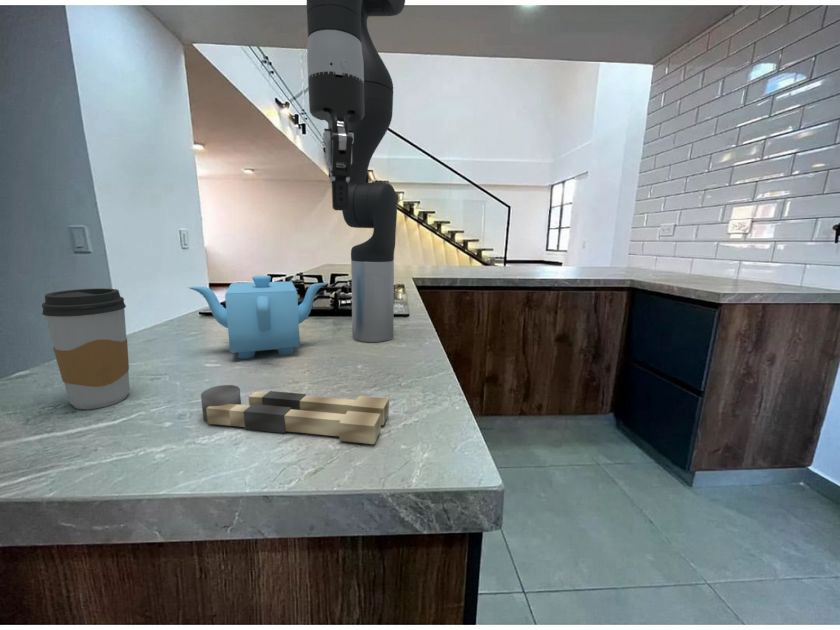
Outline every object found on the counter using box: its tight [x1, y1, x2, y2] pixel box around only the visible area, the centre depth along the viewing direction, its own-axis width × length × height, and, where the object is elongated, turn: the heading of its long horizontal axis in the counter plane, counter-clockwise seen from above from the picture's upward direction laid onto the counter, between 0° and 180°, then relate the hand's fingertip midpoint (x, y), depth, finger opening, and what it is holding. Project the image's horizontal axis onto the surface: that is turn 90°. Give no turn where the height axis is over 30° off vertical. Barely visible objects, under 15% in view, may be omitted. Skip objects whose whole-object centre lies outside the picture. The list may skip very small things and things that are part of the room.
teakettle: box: [187, 274, 329, 360], centre depth 76 cm, size 19×19×15 cm
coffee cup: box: [41, 288, 131, 410], centre depth 51 cm, size 8×8×15 cm
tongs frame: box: [200, 384, 381, 445], centre depth 47 cm, size 23×6×3 cm, turn 82°
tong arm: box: [248, 390, 390, 426], centre depth 49 cm, size 18×3×2 cm, turn 81°
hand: (340, 210), depth 57 cm, fingers closed
